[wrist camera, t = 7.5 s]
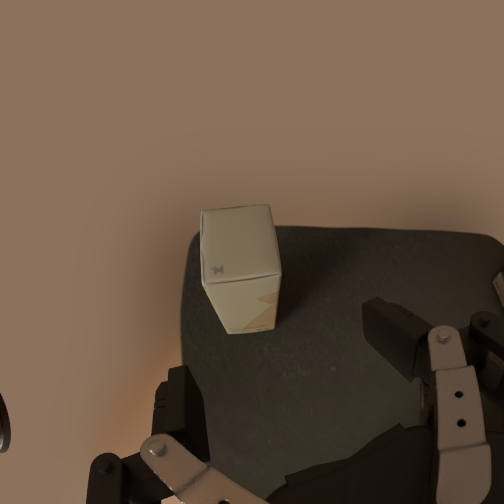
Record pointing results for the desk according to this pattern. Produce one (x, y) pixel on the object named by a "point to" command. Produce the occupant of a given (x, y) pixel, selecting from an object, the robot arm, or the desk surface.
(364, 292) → the desk surface
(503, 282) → the block
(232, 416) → the desk surface
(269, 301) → the box
